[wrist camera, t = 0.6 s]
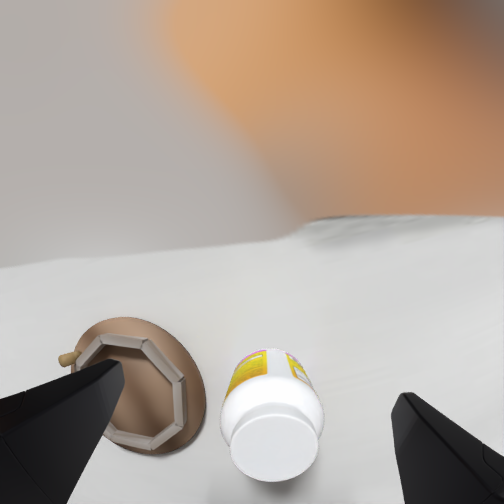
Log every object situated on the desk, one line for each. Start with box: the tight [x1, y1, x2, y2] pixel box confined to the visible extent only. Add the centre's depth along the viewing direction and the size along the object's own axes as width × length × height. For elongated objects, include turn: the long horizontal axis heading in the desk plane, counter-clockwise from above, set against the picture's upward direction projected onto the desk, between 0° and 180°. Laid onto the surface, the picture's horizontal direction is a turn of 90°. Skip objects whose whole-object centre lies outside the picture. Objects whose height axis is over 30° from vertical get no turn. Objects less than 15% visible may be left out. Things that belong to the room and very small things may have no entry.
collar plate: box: [58, 317, 206, 454], centre depth 24 cm, size 15×15×4 cm
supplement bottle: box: [220, 348, 324, 482], centre depth 19 cm, size 7×7×13 cm
